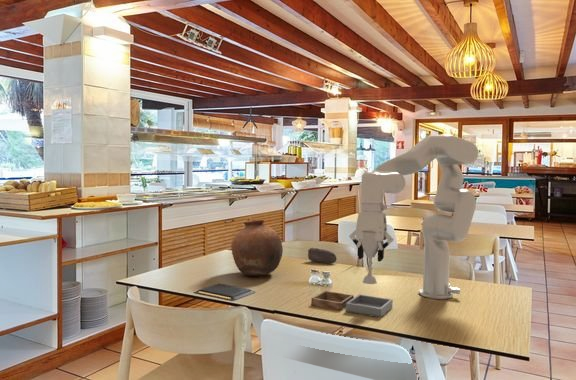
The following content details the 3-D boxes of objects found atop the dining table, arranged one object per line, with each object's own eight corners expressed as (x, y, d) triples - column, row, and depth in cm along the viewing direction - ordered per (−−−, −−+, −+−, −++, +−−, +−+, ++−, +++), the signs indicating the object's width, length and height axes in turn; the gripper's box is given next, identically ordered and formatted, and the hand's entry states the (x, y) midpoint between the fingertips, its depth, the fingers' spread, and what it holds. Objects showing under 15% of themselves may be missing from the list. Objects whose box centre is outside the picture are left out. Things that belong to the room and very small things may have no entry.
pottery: (281, 281, 205) (282, 223, 204) (227, 280, 206) (227, 222, 204) (283, 268, 228) (283, 216, 226) (234, 268, 229) (234, 215, 227)
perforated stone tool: (338, 263, 241) (338, 249, 241) (334, 265, 237) (334, 251, 236) (311, 260, 249) (311, 246, 248) (307, 262, 244) (307, 248, 244)
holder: (353, 301, 177) (353, 295, 177) (341, 310, 167) (341, 303, 167) (324, 297, 183) (325, 290, 183) (311, 305, 173) (311, 298, 173)
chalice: (356, 283, 166) (357, 231, 165) (362, 278, 172) (364, 228, 171) (377, 285, 163) (378, 233, 161) (382, 281, 169) (384, 230, 167)
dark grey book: (256, 289, 188) (231, 298, 176) (256, 294, 188) (231, 303, 176) (218, 281, 199) (192, 289, 187) (218, 285, 199) (192, 294, 187)
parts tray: (392, 307, 171) (392, 299, 170) (381, 318, 160) (381, 309, 159) (358, 302, 177) (359, 294, 177) (345, 311, 166) (346, 303, 166)
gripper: (399, 208, 165) (397, 260, 166) (352, 205, 173) (351, 255, 174) (393, 210, 158) (391, 264, 159) (344, 207, 167) (343, 258, 168)
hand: (370, 259), depth 167 cm, fingers closed on chalice, 6 cm apart
